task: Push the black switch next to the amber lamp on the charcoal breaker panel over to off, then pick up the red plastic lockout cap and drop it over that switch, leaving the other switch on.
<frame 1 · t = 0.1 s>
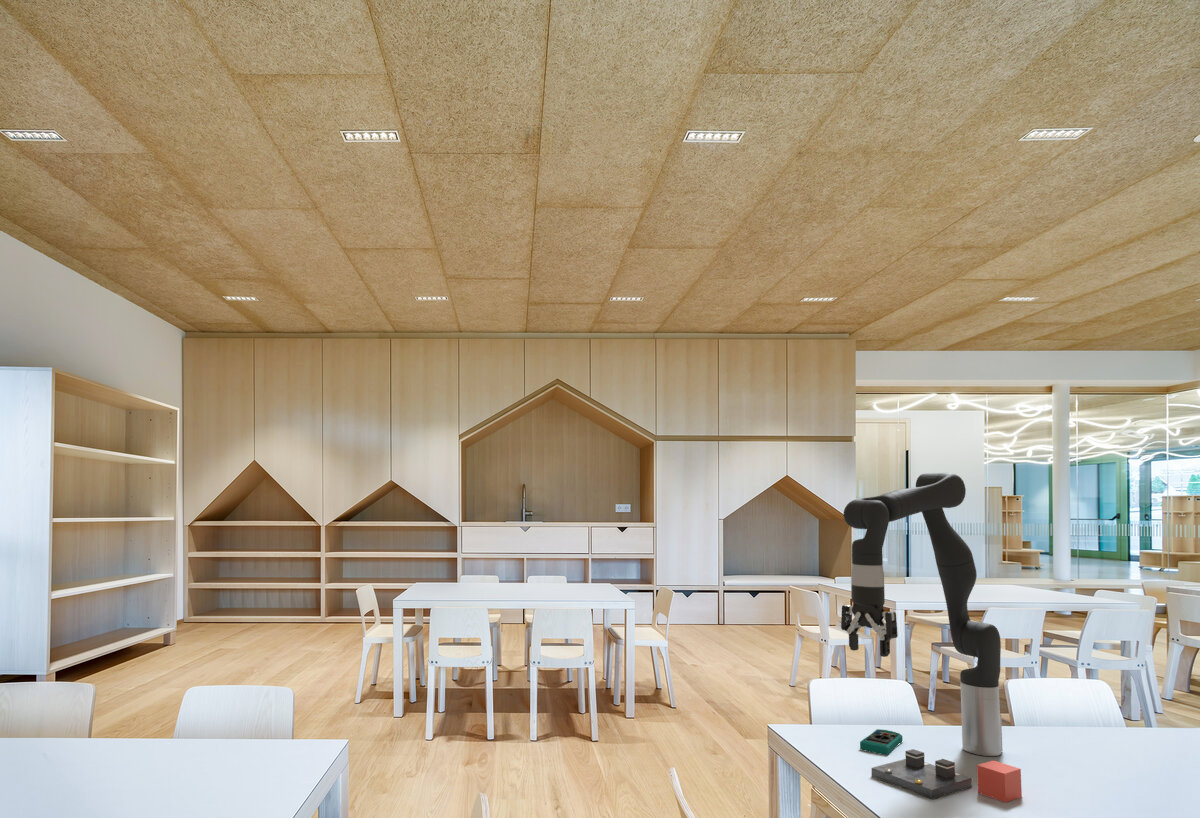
hand: (869, 653, 183), 29 cm above the table, tool pointing down, fingers open, 8 cm apart
breaker 2: (945, 768, 179), point 4 cm above the table, slide at 0.0 cm
digital multimeter: (881, 748, 206), on the table
breaker 1: (914, 758, 186), point 4 cm above the table, slide at 0.0 cm
lockout cap: (999, 794, 173), on the table
breaker panel: (921, 781, 180), on the table
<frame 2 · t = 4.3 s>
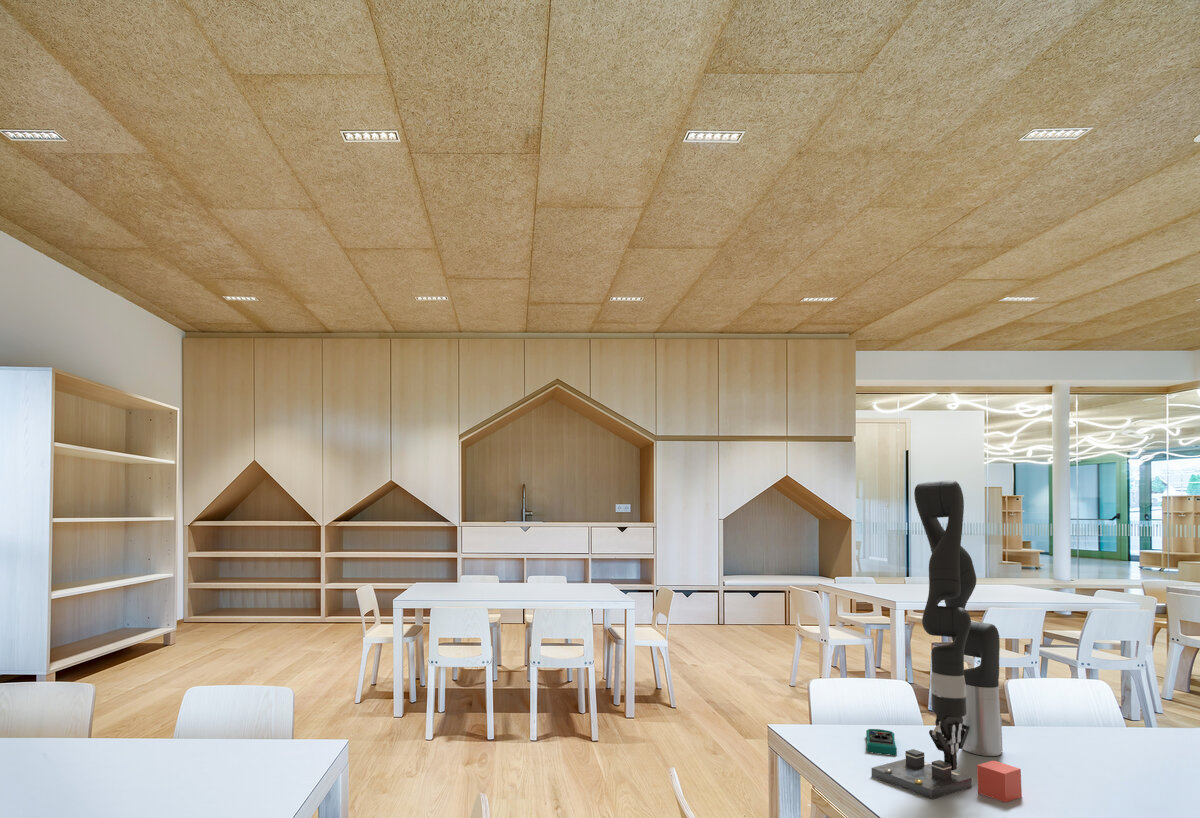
hand: (950, 769, 180), 3 cm above the table, tool pointing down, fingers closed
breaker 2: (941, 769, 178), point 4 cm above the table, slide at 1.4 cm, touching gripper
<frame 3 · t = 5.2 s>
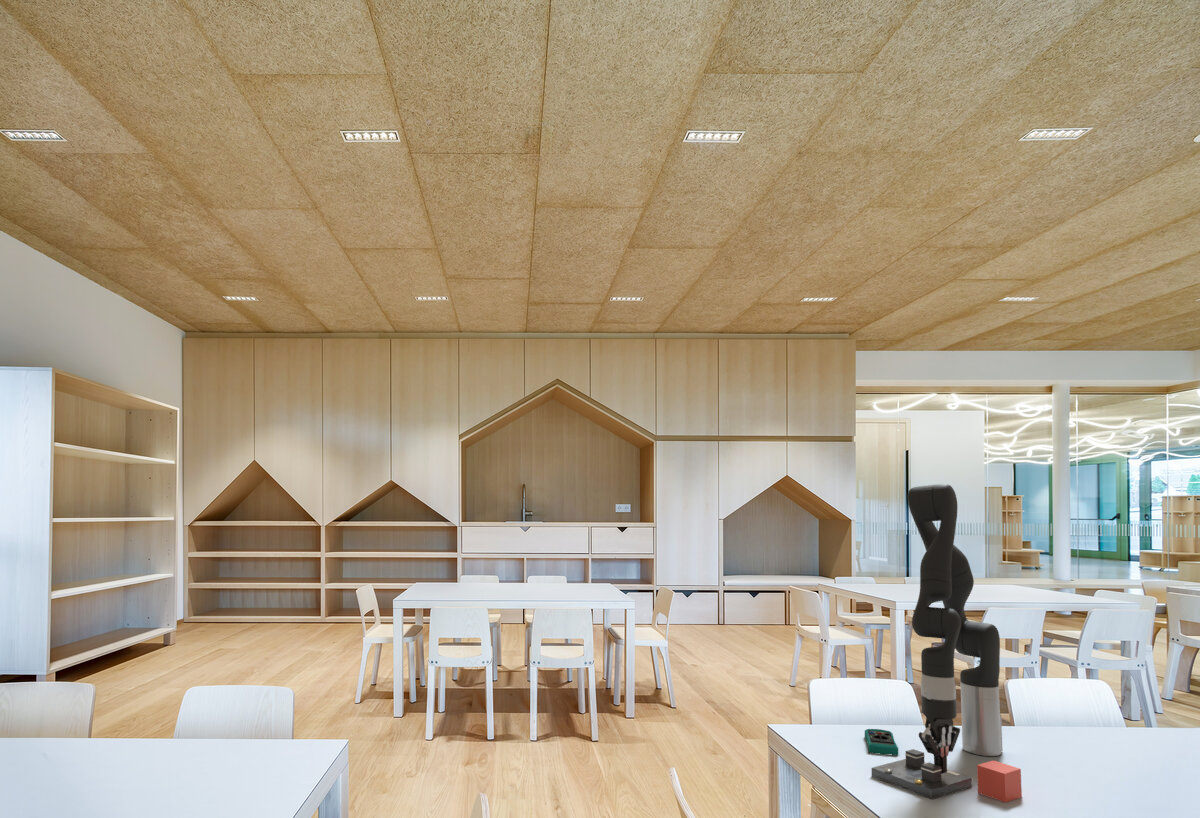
hand: (940, 772, 178), 3 cm above the table, tool pointing down, fingers closed
breaker 2: (931, 772, 176), point 4 cm above the table, slide at 5.3 cm, touching gripper
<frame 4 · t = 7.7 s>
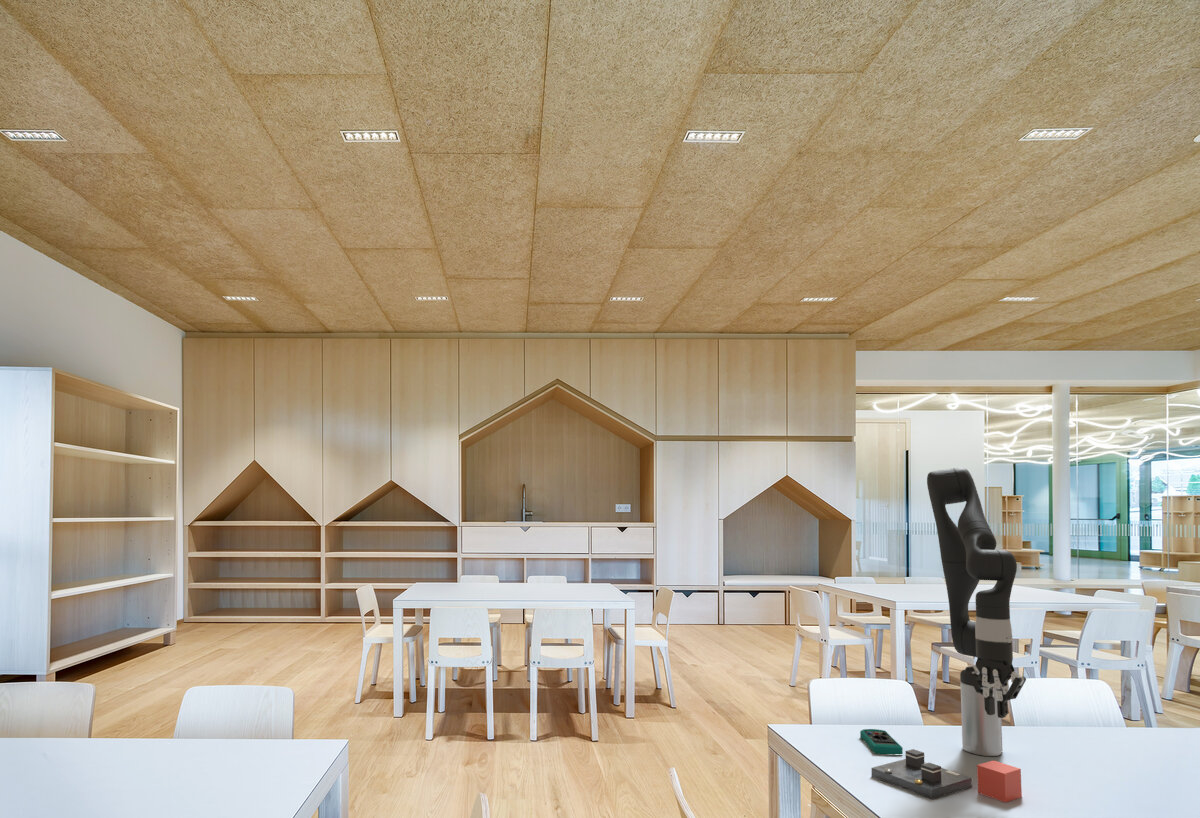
hand: (996, 715, 175), 17 cm above the table, tool pointing down, fingers closed
breaker 2: (931, 772, 176), point 4 cm above the table, slide at 5.3 cm
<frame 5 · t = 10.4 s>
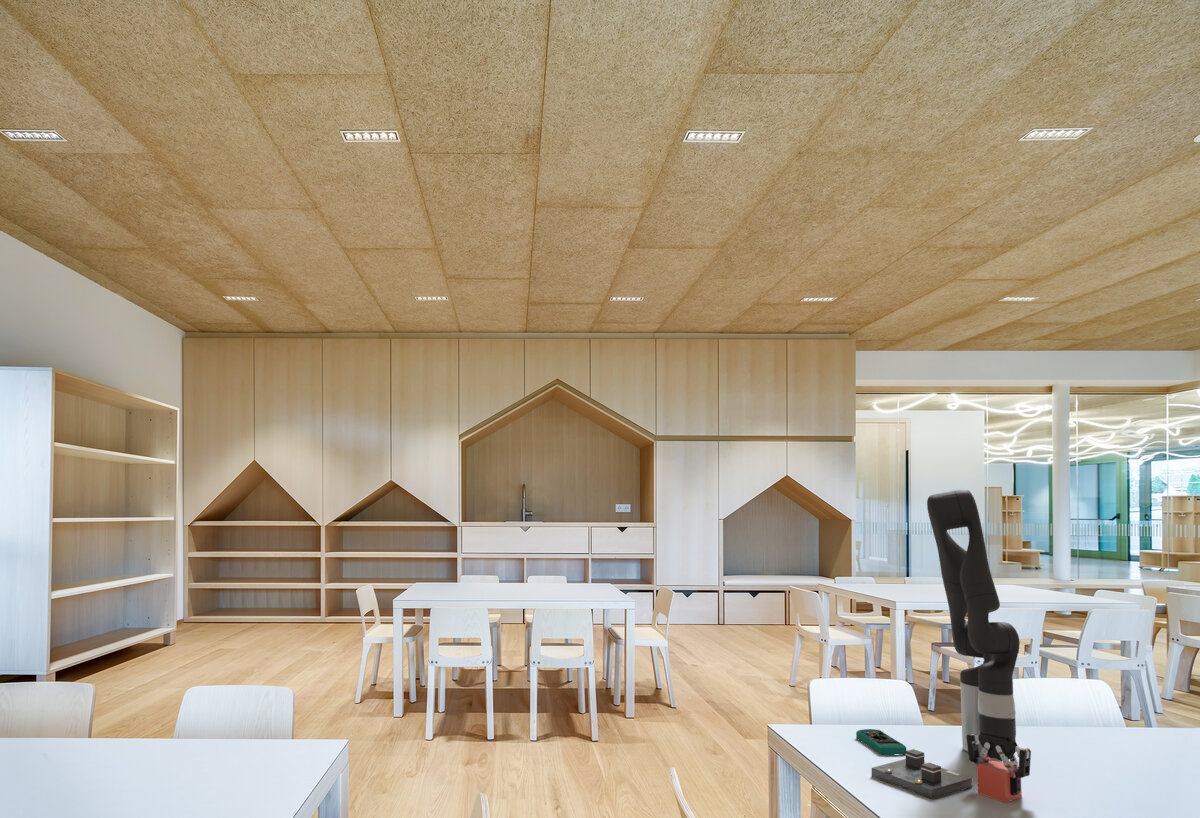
hand: (999, 789, 173), 1 cm above the table, tool pointing down, fingers closed on lockout cap, 6 cm apart
lockout cap: (999, 794, 173), on the table, touching gripper
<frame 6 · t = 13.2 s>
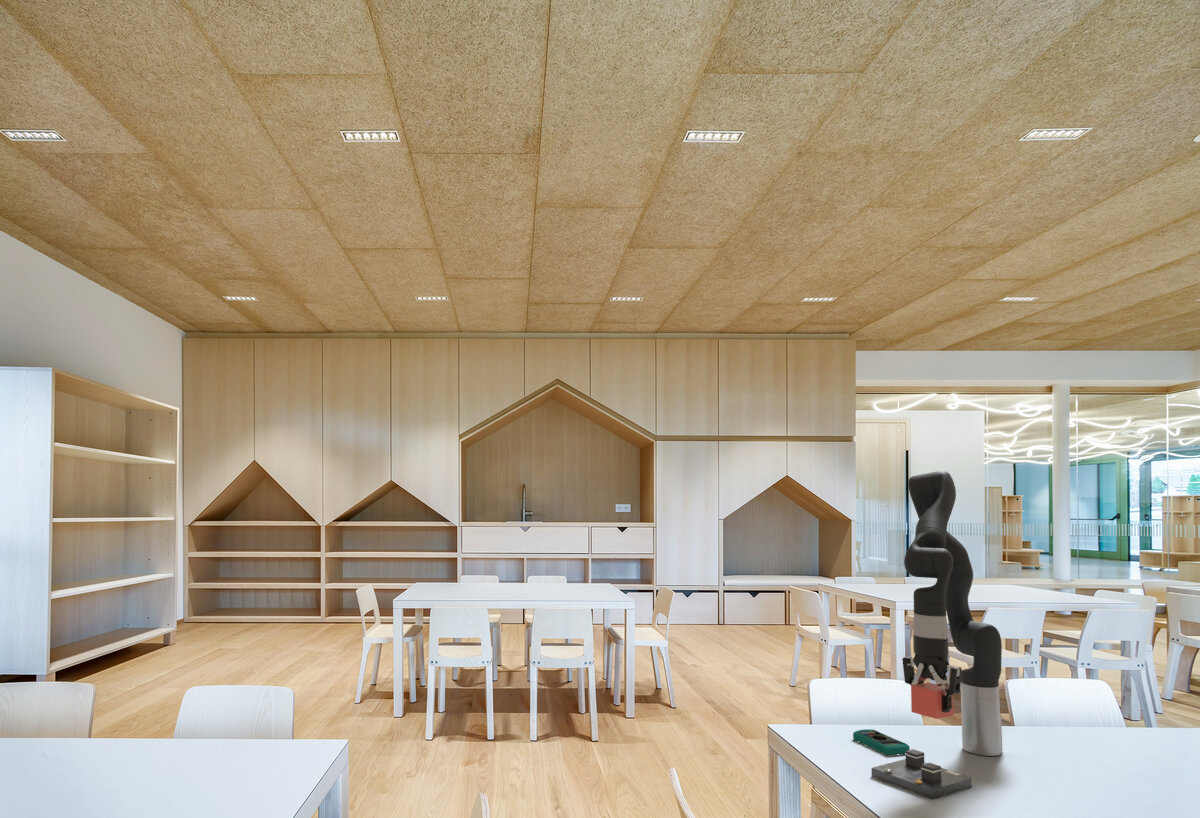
hand: (932, 708, 178), 18 cm above the table, tool pointing down, fingers closed on lockout cap, 6 cm apart
lockout cap: (932, 713, 178), point 17 cm above the table, touching gripper
when the fingers open (5 cm above the table, at t = 16.3 s): lockout cap drops 1 cm, resting on breaker panel.
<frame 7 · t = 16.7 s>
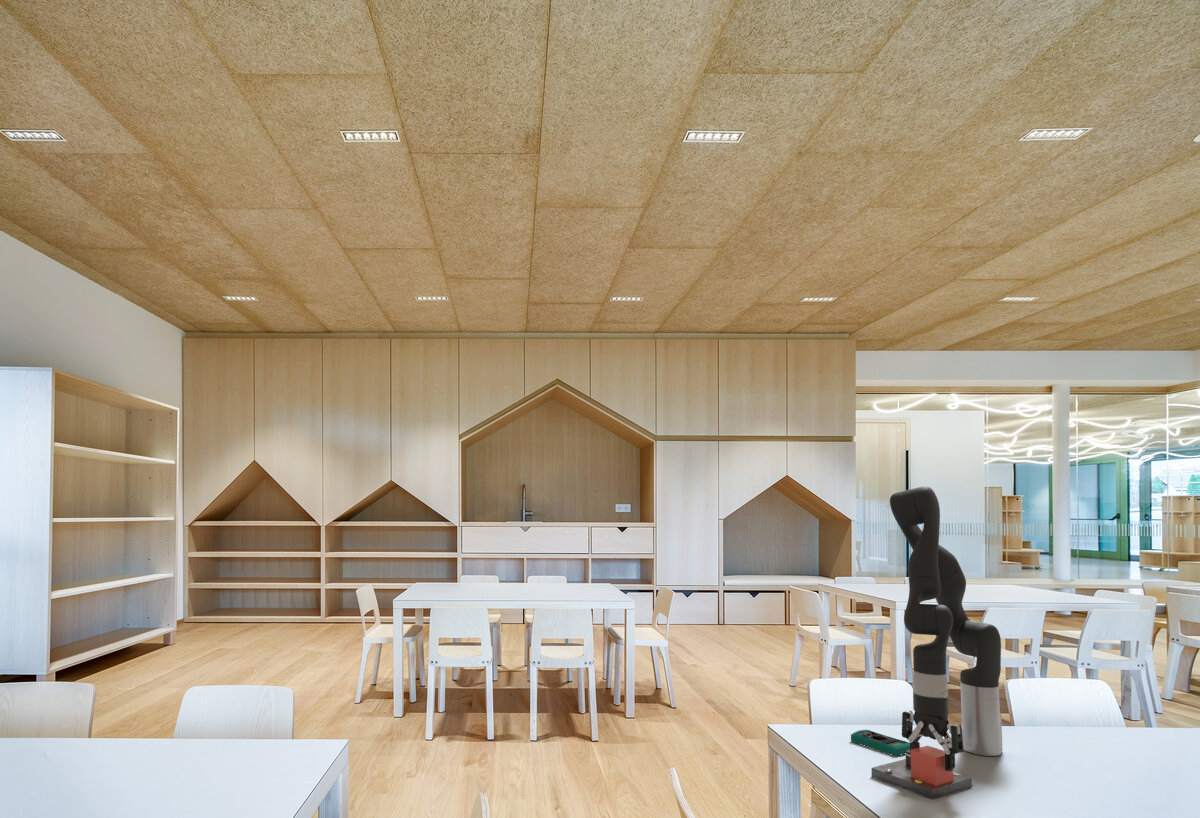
hand: (932, 764, 177), 5 cm above the table, tool pointing down, fingers open, 8 cm apart
lockout cap: (932, 778, 177), point 2 cm above the table, touching breaker panel
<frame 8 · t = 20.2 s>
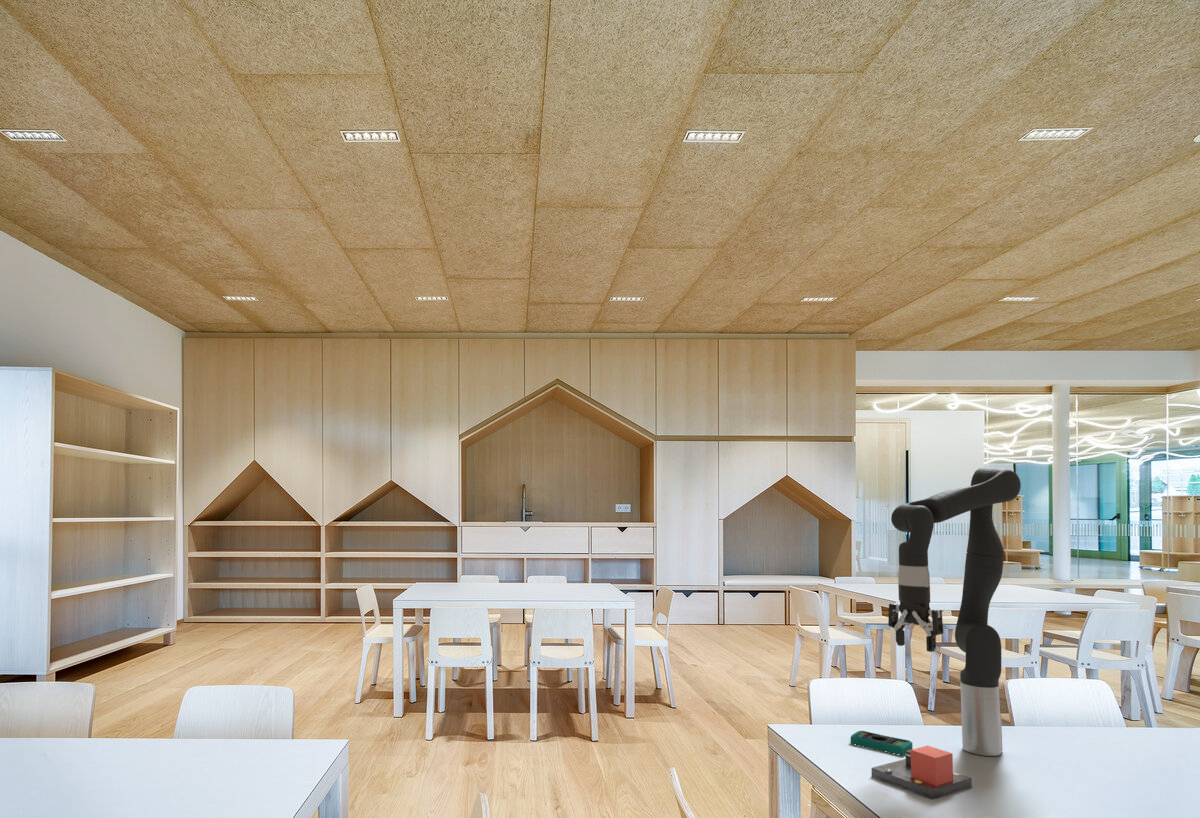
hand: (915, 648, 196), 28 cm above the table, tool pointing down, fingers open, 8 cm apart
at the end: breaker 2 slide at 5.3 cm; lockout cap 0.2 cm from the target spot, point 2.0 cm above the table; breaker 1 slide at 0.0 cm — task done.
